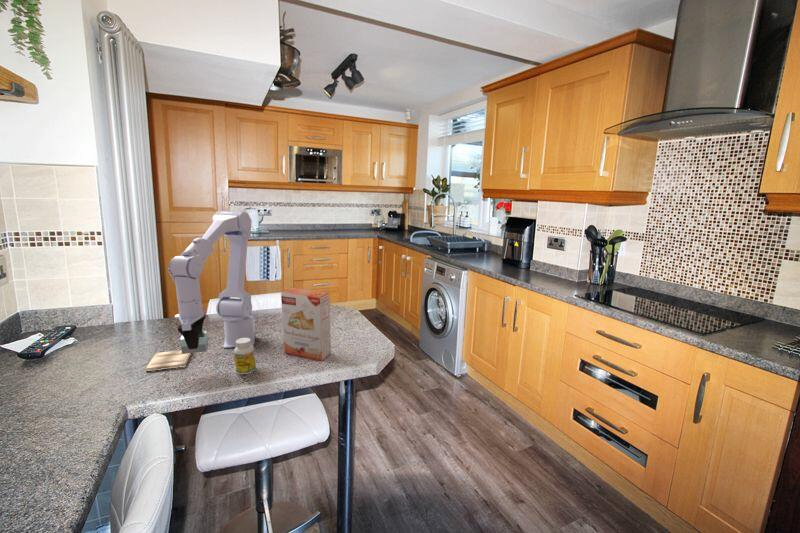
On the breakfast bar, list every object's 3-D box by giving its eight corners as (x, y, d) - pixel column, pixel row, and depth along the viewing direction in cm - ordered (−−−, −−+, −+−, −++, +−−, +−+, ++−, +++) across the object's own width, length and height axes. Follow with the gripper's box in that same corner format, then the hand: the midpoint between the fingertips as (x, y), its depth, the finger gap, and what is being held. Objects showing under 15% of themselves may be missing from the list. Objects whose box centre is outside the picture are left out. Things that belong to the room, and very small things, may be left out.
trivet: (192, 352, 121) (191, 348, 120) (185, 367, 111) (185, 363, 111) (156, 356, 118) (155, 352, 117) (146, 372, 108) (145, 368, 108)
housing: (208, 345, 110) (206, 330, 109) (206, 351, 106) (204, 336, 105) (185, 347, 108) (183, 332, 107) (181, 354, 104) (180, 339, 103)
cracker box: (283, 354, 121) (279, 291, 116) (294, 346, 126) (291, 286, 121) (321, 362, 116) (319, 297, 111) (331, 353, 122) (330, 291, 117)
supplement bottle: (256, 365, 113) (254, 335, 111) (254, 374, 108) (251, 343, 106) (237, 367, 112) (234, 337, 110) (234, 376, 107) (231, 345, 105)
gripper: (179, 292, 109) (184, 336, 112) (165, 309, 96) (172, 358, 99) (206, 290, 111) (210, 333, 115) (196, 306, 98) (202, 354, 101)
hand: (194, 344), depth 107 cm, fingers closed on housing, 4 cm apart
